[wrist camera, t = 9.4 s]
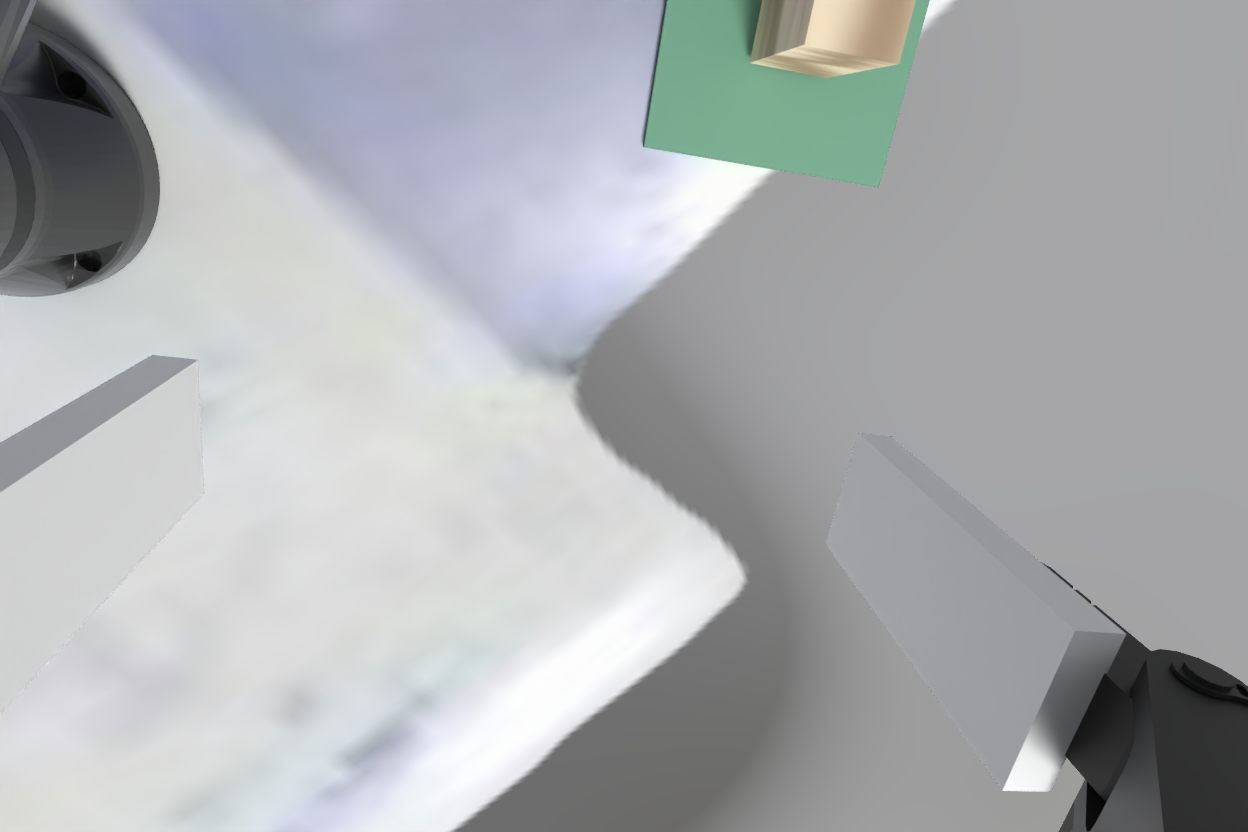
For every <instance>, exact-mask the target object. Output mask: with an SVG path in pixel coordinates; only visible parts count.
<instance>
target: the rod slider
mask: <svg viewBox="0 0 1248 832" xmlns="http://www.w3.org/2000/svg"><path fill="white" fill-rule="evenodd" d="M915 2H916V0H762V3H761V8H760V13H759V18H758V23H757V28H756V33H755V38H754V44H753V49H752V54H751V59H750V63H752V64H757V65H762V66H768V67H773V68H778V69H783V70H788V71H793V72H798V73H803V74H808V75H813V76H818V77H823V78H830V77H835V76H840V75H845V74H850V73H855V72H861V71H866V70H871V69H876V68H881V67H886V66H891V65H896V64H899V63H900V59H901V55H902V51H903V47H904V44H905V40H906V36H907V32H908V29H909V25H910V21H911V17H912V13H913V10H914V6H915Z"/></svg>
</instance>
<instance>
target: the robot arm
mask: <svg viewBox="0 0 1248 832" xmlns="http://www.w3.org/2000/svg"><path fill="white" fill-rule="evenodd" d="M36 2H37V0H0V294H1V295H8V296H19V297H37V296H49V295H57V294H62V293H66V292H70V291H73V290H77V289H80V288H83V287H86V286H89V285H92V284H94V283H97V282H100V281H102V280H104V279H106V278H108V277H110V276H112V275H114V274H115V273H117V272H118V271H120V270H121V269H122V268H124V267H125V266H126V265H127V264H128V263H130V262H131V261H132V259H133V258H134V257H135V256H136V255H137V254H138V253H139V251H140V250H141V249H142V247H143V246H144V244H145V243H146V241H147V239H148V237H149V235H150V233H151V231H152V228H153V226H154V223H155V220H156V216H157V211H158V205H159V195H160V182H159V172H158V166H157V161H156V157H155V153H154V149H153V146H152V143H151V140H150V138H149V135H148V133H147V130H146V128H145V126H144V124H143V122H142V120H141V118H140V117H139V115H138V113H137V111H136V110H135V108H134V106H133V105H132V103H131V102H130V100H129V99H128V98H127V96H126V95H125V93H124V92H123V91H122V90H121V88H120V87H119V86H118V85H117V84H116V82H115V81H114V80H113V79H112V78H111V77H110V76H109V75H108V74H107V73H106V72H105V71H104V70H103V69H102V68H101V67H100V66H99V65H98V64H97V63H96V62H95V61H93V60H92V59H91V58H90V57H89V56H87V55H86V54H85V53H83V52H82V51H81V50H79V49H78V48H77V47H75V46H74V45H72V44H71V43H69V42H68V41H66V40H64V39H62V38H61V37H59V36H57V35H55V34H54V33H52V32H50V31H48V30H46V29H43V28H41V27H39V26H36V25H34V24H31V23H28V22H29V19H30V17H31V14H32V12H33V10H34V7H35V5H36ZM203 494H204V477H203V456H202V435H201V414H200V393H199V373H198V360H193V359H184V358H175V357H166V356H157V355H152V356H150V357H148V358H147V359H145V360H143V361H141V362H140V363H138V364H136V365H134V366H133V367H131V368H129V369H127V370H126V371H124V372H122V373H121V374H119V375H117V376H115V377H114V378H112V379H110V380H108V381H107V382H105V383H103V384H101V385H100V386H98V387H96V388H95V389H93V390H91V391H89V392H88V393H86V394H84V395H82V396H81V397H79V398H77V399H75V400H74V401H72V402H70V403H69V404H67V405H65V406H63V407H62V408H60V409H58V410H56V411H55V412H53V413H51V414H49V415H48V416H46V417H44V418H43V419H41V420H39V421H37V422H36V423H34V424H32V425H30V426H29V427H27V428H25V429H23V430H22V431H20V432H18V433H17V434H15V435H13V436H11V437H10V438H8V439H6V440H4V441H3V442H1V443H0V715H1V714H2V713H3V712H4V711H5V710H6V709H7V708H8V706H9V705H10V704H11V703H12V702H13V701H14V700H15V699H16V698H17V697H18V696H19V694H20V693H21V692H22V691H23V690H24V689H25V688H26V687H27V686H28V685H29V684H30V682H31V681H32V680H33V679H34V678H35V677H36V676H37V675H38V674H39V673H40V672H41V670H42V669H43V668H44V667H45V666H46V665H47V664H48V663H49V662H50V661H51V660H52V659H53V657H54V656H55V655H56V654H57V653H58V652H59V651H60V650H61V649H62V648H63V647H64V645H65V644H66V643H67V642H68V641H69V640H70V639H71V638H72V637H73V636H74V635H75V633H76V632H77V631H78V630H79V629H80V628H81V627H82V626H83V625H84V624H85V623H86V621H87V620H88V619H89V618H90V617H91V616H92V615H93V614H94V613H95V612H96V611H97V610H98V608H99V607H100V606H101V605H102V604H103V603H104V602H105V601H106V600H107V599H108V598H109V596H110V595H111V594H112V593H113V592H114V591H115V590H116V589H117V588H118V587H119V586H120V584H121V583H122V582H123V581H124V580H125V579H126V578H127V577H128V576H129V575H130V574H131V572H132V571H133V570H134V569H135V568H136V567H137V566H138V565H139V564H140V563H141V562H142V561H143V559H144V558H145V557H146V556H147V555H148V554H149V553H150V552H151V551H152V550H153V549H154V547H155V546H156V545H157V544H158V543H159V542H160V541H161V540H162V539H163V538H164V537H165V535H166V534H167V533H168V532H169V531H170V530H171V529H172V528H173V527H174V526H175V525H176V524H177V522H178V521H179V520H180V519H181V518H182V517H183V516H184V515H185V514H186V513H187V512H188V510H189V509H190V508H191V507H192V506H193V505H194V504H195V503H196V502H197V501H198V500H199V498H200V497H201V496H202V495H203ZM826 545H827V547H828V548H829V549H830V551H831V552H832V554H833V555H834V556H835V558H836V559H837V561H838V562H839V563H840V565H841V566H842V568H843V569H844V570H845V572H846V573H847V575H848V576H849V577H850V579H851V580H852V581H853V583H854V584H855V586H856V587H857V588H858V590H859V591H860V593H861V594H862V595H863V597H864V598H865V600H866V601H867V602H868V604H869V605H870V607H871V608H872V609H873V611H874V612H875V614H876V615H877V616H878V618H879V619H880V620H881V622H882V623H883V624H884V626H885V628H886V629H887V630H888V632H889V633H890V635H891V636H892V637H893V639H894V640H895V642H896V643H897V644H898V646H899V647H900V648H901V650H902V651H903V653H904V654H905V655H906V657H907V658H908V659H909V661H910V662H911V664H912V665H913V667H914V668H915V669H916V671H917V672H918V673H919V675H920V676H921V678H922V679H923V681H924V682H925V683H926V685H927V686H928V688H929V689H930V690H931V692H932V693H933V694H934V696H935V697H936V699H937V700H938V701H939V703H940V704H941V706H942V707H943V708H944V710H945V711H946V713H947V714H948V715H949V717H950V718H951V720H952V721H953V722H954V724H955V725H956V727H957V728H958V729H959V731H960V732H961V734H962V735H963V736H964V738H965V739H966V740H967V742H968V743H969V745H970V746H971V747H972V749H973V750H974V752H975V753H976V754H977V756H978V757H979V759H980V760H981V761H982V763H983V764H984V766H985V767H986V768H987V770H988V771H989V773H990V774H991V775H992V777H993V778H994V780H995V781H996V782H997V784H998V785H999V787H1000V788H1001V789H1002V791H1045V792H1046V791H1047V792H1050V790H1051V788H1052V786H1053V784H1054V782H1055V780H1056V778H1057V776H1058V774H1059V772H1060V770H1061V768H1062V766H1063V764H1064V762H1065V760H1066V757H1067V758H1068V759H1069V760H1070V762H1071V763H1072V764H1073V765H1074V766H1075V768H1076V769H1077V770H1078V771H1079V772H1080V773H1081V774H1082V776H1083V777H1084V778H1085V781H1084V783H1083V785H1082V787H1081V789H1080V791H1079V793H1078V794H1077V796H1076V799H1075V800H1074V803H1073V804H1072V806H1071V808H1070V810H1069V813H1068V814H1067V816H1066V819H1065V820H1064V822H1063V824H1062V826H1061V828H1060V830H1059V832H1248V686H1246V685H1245V684H1244V683H1243V682H1241V681H1240V680H1238V679H1237V678H1235V677H1233V676H1232V675H1230V674H1228V673H1227V672H1225V671H1224V670H1222V669H1221V668H1218V667H1216V666H1214V665H1212V664H1210V663H1208V662H1205V661H1203V660H1201V659H1199V658H1196V657H1193V656H1190V655H1186V654H1184V653H1181V652H1177V651H1170V650H1162V649H1160V650H1155V651H1150V650H1149V649H1148V648H1146V647H1145V646H1144V645H1143V644H1142V643H1140V642H1139V641H1138V640H1137V639H1136V638H1134V637H1133V636H1132V635H1131V634H1129V633H1128V632H1127V631H1126V630H1125V629H1124V628H1122V627H1121V626H1120V625H1119V624H1117V623H1116V622H1115V621H1114V620H1113V619H1112V618H1110V617H1109V616H1108V615H1107V614H1106V613H1104V612H1103V611H1102V610H1101V609H1100V608H1098V607H1097V606H1096V605H1091V601H1090V600H1089V599H1088V598H1086V597H1085V596H1084V595H1083V594H1082V593H1080V592H1079V591H1078V590H1073V586H1072V585H1071V584H1070V583H1068V582H1067V581H1066V580H1065V579H1063V578H1062V577H1061V576H1060V575H1059V574H1057V573H1056V572H1055V571H1054V570H1053V569H1052V568H1050V567H1048V566H1046V565H1045V564H1043V563H1042V562H1040V561H1039V560H1038V559H1036V558H1035V557H1034V556H1033V555H1032V554H1030V553H1029V552H1028V551H1027V550H1026V549H1025V548H1023V547H1022V546H1021V545H1020V544H1018V543H1017V542H1016V541H1015V540H1014V539H1013V538H1011V537H1010V536H1009V535H1008V534H1007V533H1005V532H1004V531H1003V530H1002V529H1000V528H999V527H998V526H997V525H996V524H994V522H992V521H991V520H990V519H989V518H988V517H986V516H985V515H984V514H983V513H982V512H980V511H979V510H978V509H977V508H976V507H975V506H973V505H972V504H971V503H970V502H968V501H967V500H966V499H965V498H964V497H963V496H961V495H960V494H959V493H958V492H957V491H955V490H954V489H953V488H952V487H951V486H949V485H948V484H947V483H946V482H945V481H944V480H942V479H941V478H940V477H939V476H937V475H936V474H935V473H934V472H933V471H932V470H930V469H929V468H928V467H927V466H925V465H924V464H923V463H922V462H921V461H919V459H917V458H916V457H915V456H913V454H911V453H910V452H909V451H908V450H906V449H905V448H904V447H903V446H902V445H900V444H899V443H898V442H897V441H896V440H895V439H894V438H892V437H891V436H882V435H873V434H864V433H858V436H857V439H856V442H855V446H854V449H853V453H852V456H851V459H850V463H849V466H848V470H847V473H846V476H845V480H844V483H843V487H842V490H841V494H840V497H839V500H838V504H837V507H836V510H835V514H834V517H833V520H832V524H831V527H830V531H829V534H828V537H827V541H826Z"/></svg>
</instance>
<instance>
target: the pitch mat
mask: <svg viewBox="0 0 1248 832" xmlns="http://www.w3.org/2000/svg"><path fill="white" fill-rule="evenodd" d="M761 3H762V0H667V1H666V7H665V13H664V20H663V26H662V32H661V39H660V45H659V51H658V58H657V64H656V70H655V76H654V83H653V89H652V95H651V102H650V108H649V114H648V121H647V127H646V133H645V139H644V146H643V147H647V148H653V149H658V150H664V151H670V152H676V153H682V154H687V155H693V156H699V157H705V158H711V159H716V160H722V161H728V162H734V163H739V164H745V165H751V166H757V167H763V168H768V169H774V170H780V171H786V172H792V173H797V174H803V175H809V176H815V177H820V178H826V179H832V180H838V181H844V182H850V183H855V184H861V185H867V186H873V187H879V185H880V181H881V178H882V174H883V170H884V166H885V163H886V158H887V155H888V151H889V148H890V144H891V141H892V136H893V133H894V130H895V126H896V122H897V118H898V115H899V111H900V107H901V104H902V100H903V96H904V93H905V89H906V85H907V81H908V77H909V74H910V70H911V67H912V63H913V59H914V56H915V52H916V48H917V45H918V41H919V37H920V34H921V30H922V26H923V22H924V19H925V15H926V11H927V8H928V4H929V0H916V2H915V6H914V10H913V13H912V17H911V21H910V25H909V29H908V32H907V36H906V40H905V44H904V47H903V51H902V55H901V59H900V63H899V64H896V65H891V66H886V67H881V68H876V69H871V70H866V71H861V72H855V73H850V74H845V75H840V76H835V77H830V78H823V77H818V76H813V75H808V74H803V73H798V72H793V71H788V70H783V69H778V68H773V67H768V66H762V65H757V64H752V63H750V59H751V54H752V49H753V44H754V38H755V33H756V28H757V23H758V18H759V13H760V8H761Z"/></svg>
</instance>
